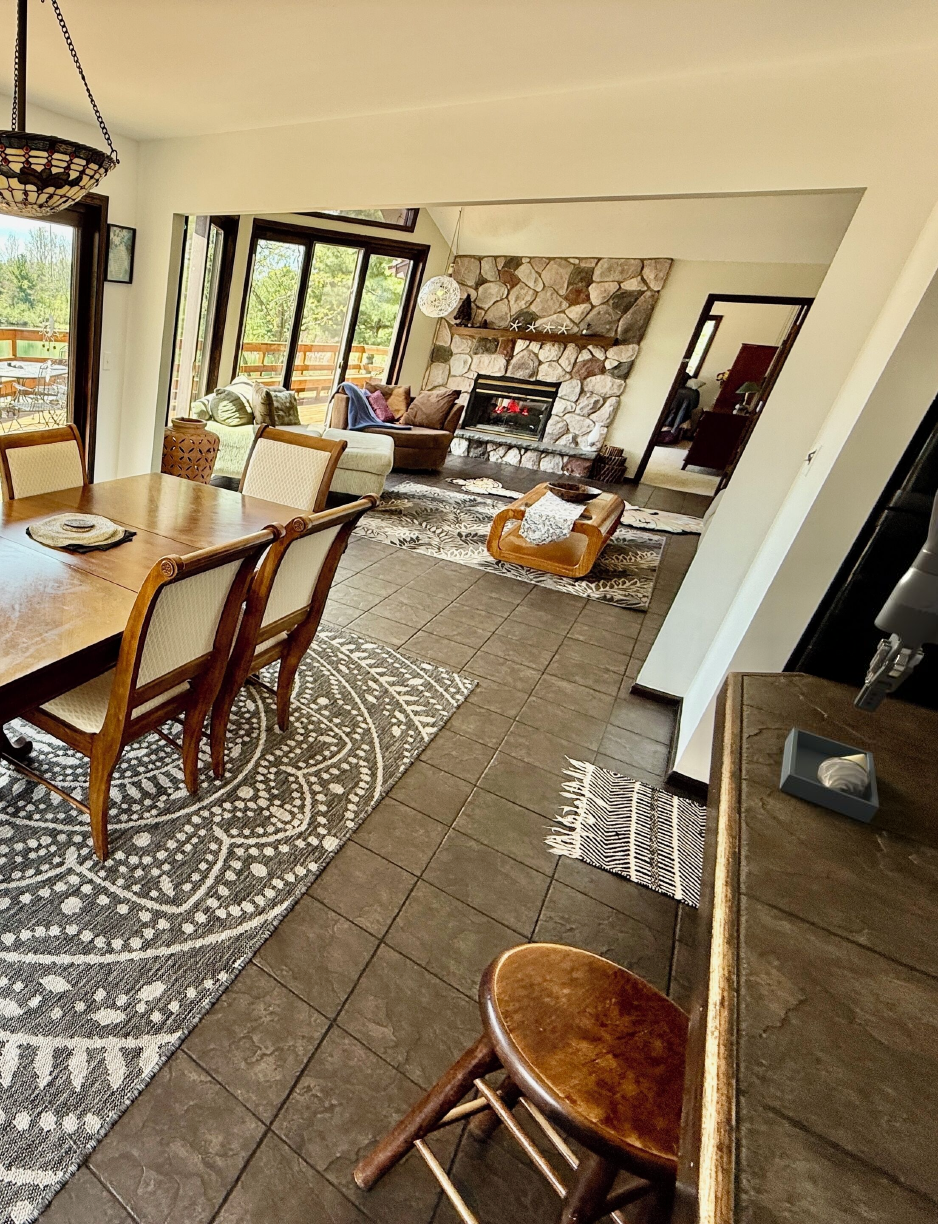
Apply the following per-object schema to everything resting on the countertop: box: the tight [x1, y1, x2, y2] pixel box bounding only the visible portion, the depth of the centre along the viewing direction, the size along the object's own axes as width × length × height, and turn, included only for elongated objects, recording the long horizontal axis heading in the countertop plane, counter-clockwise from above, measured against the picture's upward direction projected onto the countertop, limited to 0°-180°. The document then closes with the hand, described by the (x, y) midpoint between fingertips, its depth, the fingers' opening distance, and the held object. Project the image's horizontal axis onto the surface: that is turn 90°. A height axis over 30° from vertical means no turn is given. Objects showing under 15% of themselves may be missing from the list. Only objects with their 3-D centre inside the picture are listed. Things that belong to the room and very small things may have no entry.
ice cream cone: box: [818, 754, 870, 793], centre depth 95 cm, size 5×5×15 cm
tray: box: [779, 727, 880, 824], centre depth 98 cm, size 20×9×3 cm, turn 133°
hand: (863, 708), depth 96 cm, fingers closed
